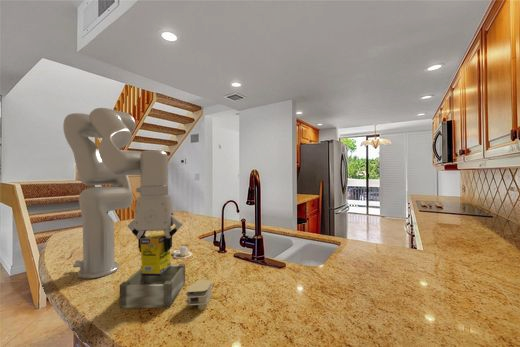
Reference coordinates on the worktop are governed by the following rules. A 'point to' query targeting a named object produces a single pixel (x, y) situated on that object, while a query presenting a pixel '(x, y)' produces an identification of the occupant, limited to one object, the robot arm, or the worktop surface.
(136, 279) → the crate
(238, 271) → the worktop surface
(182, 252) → the teacup and saucer
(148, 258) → the supplement box
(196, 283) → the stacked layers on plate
